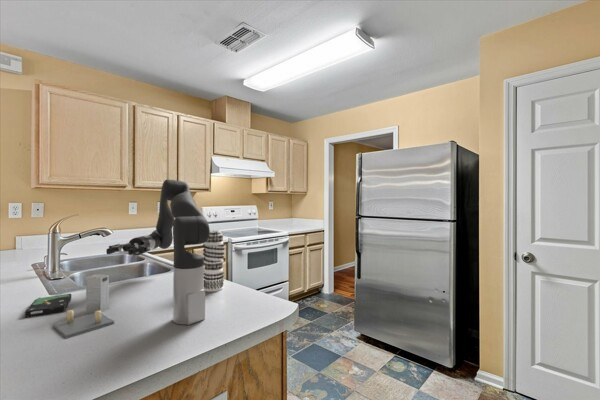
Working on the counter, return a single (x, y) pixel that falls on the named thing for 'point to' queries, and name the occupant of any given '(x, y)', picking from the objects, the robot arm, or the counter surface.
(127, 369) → the counter surface
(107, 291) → the grey upright block
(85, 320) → the grey plate with pegs
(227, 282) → the counter surface
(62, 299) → the disk drive
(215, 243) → the decorative candle
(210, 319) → the counter surface
